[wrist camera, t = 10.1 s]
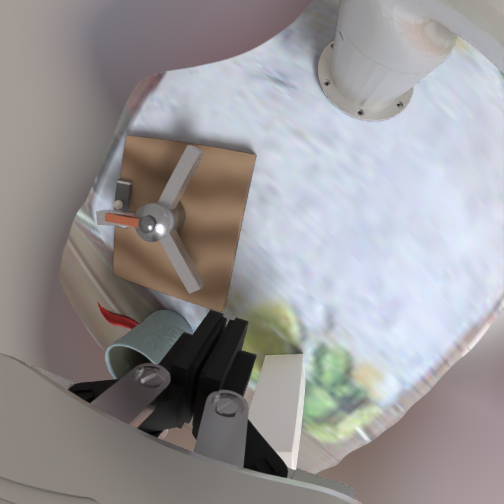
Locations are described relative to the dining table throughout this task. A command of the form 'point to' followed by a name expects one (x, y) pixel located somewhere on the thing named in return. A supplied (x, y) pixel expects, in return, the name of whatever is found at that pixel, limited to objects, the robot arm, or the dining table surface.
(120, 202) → the level ball
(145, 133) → the dining table surface
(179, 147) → the board
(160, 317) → the grey-green cup
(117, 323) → the cayenne pepper
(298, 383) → the milk
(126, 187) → the level window
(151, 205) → the capstan
